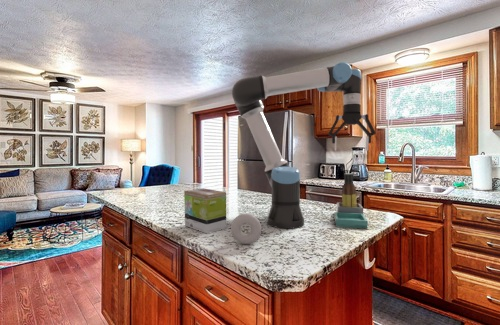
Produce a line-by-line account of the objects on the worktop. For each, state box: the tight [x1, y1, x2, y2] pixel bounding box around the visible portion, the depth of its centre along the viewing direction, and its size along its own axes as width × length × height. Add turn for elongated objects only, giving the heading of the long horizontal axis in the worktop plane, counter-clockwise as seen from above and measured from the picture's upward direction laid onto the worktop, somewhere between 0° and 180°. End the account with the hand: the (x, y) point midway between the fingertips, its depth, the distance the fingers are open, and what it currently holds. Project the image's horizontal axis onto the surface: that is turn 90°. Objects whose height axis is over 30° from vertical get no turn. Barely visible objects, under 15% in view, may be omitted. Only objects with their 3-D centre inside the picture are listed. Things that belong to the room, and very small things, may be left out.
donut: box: [230, 213, 263, 245], centre depth 85 cm, size 10×4×10 cm, turn 85°
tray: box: [334, 211, 369, 230], centre depth 110 cm, size 12×13×3 cm
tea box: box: [183, 187, 227, 234], centre depth 104 cm, size 15×10×15 cm, turn 47°
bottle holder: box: [336, 202, 364, 215], centre depth 123 cm, size 11×11×5 cm
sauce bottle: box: [341, 172, 357, 207], centre depth 123 cm, size 6×6×20 cm
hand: (351, 150), depth 121 cm, fingers open, 13 cm apart
